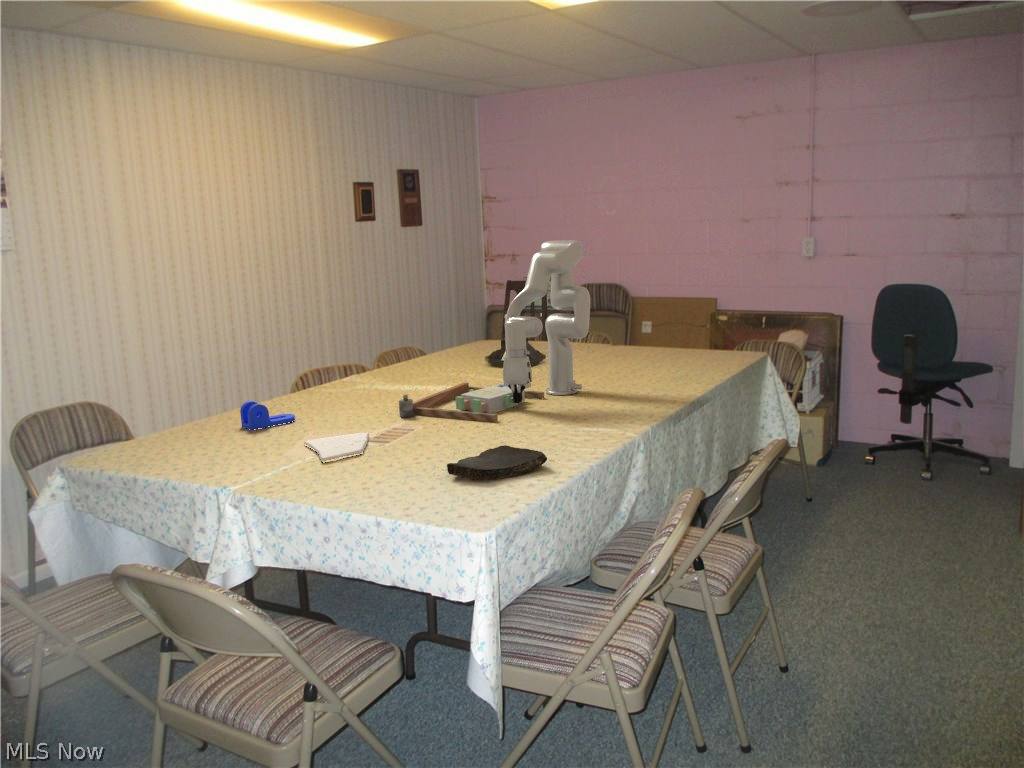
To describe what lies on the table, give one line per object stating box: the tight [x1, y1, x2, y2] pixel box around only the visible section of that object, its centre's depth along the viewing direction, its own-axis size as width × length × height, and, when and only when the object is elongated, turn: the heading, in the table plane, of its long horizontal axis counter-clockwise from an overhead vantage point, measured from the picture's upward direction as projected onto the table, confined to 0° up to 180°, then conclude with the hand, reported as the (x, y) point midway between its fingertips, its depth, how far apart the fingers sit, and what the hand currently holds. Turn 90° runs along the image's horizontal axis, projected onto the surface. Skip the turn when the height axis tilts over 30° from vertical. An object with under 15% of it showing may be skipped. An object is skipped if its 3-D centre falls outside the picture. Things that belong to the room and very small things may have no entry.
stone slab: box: [446, 444, 548, 481], centre depth 231 cm, size 26×7×20 cm
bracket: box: [239, 400, 296, 431], centre depth 295 cm, size 18×8×9 cm, turn 130°
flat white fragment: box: [304, 432, 370, 462], centre depth 260 cm, size 21×4×25 cm
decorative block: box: [455, 383, 526, 414], centre depth 310 cm, size 26×6×20 cm
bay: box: [398, 382, 545, 423], centre depth 309 cm, size 38×46×8 cm
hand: (517, 402), depth 304 cm, fingers closed
